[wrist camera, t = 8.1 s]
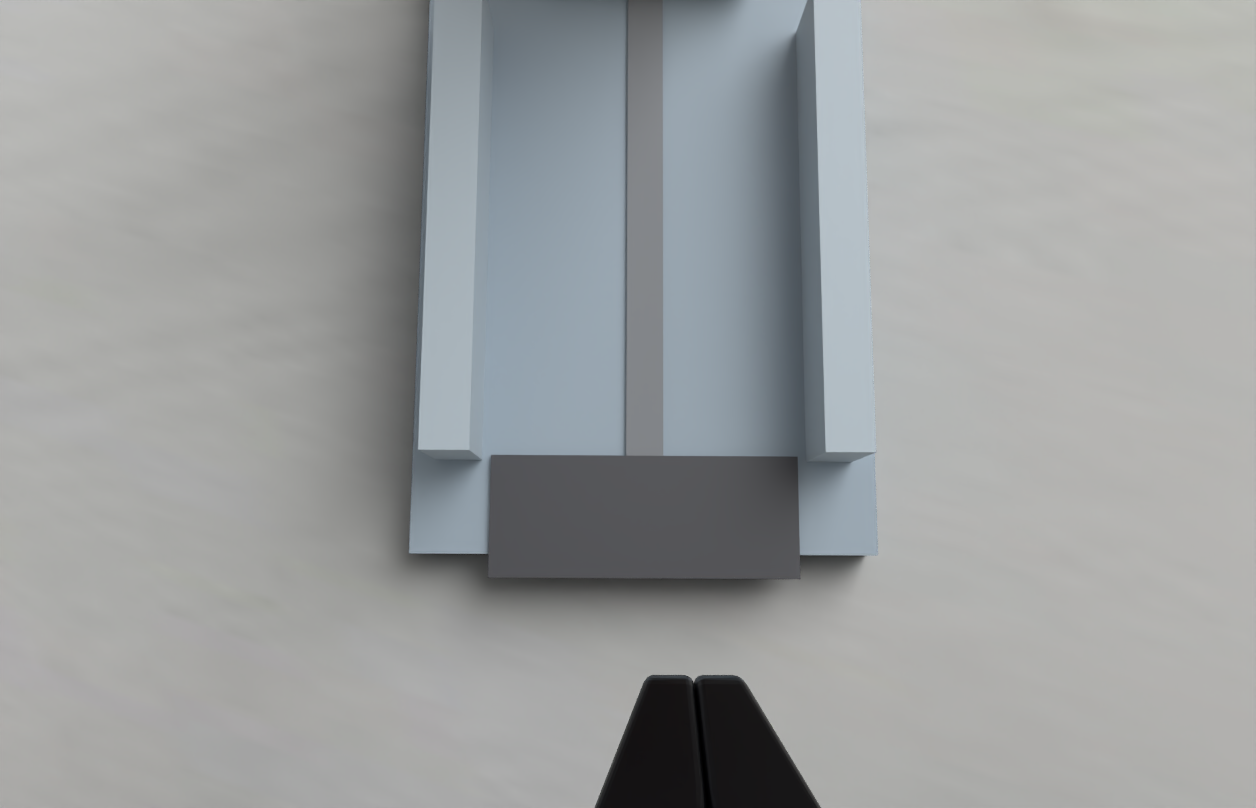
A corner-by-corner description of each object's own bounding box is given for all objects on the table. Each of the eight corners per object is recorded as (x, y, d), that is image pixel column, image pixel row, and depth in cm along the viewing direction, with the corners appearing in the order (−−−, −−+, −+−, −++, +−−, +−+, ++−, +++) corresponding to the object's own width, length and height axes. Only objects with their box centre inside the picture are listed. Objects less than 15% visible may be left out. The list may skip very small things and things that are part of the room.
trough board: (866, 578, 22) (906, 581, 19) (417, 576, 22) (386, 578, 19) (842, -168, 25) (874, -266, 22) (444, -175, 25) (421, -275, 22)
